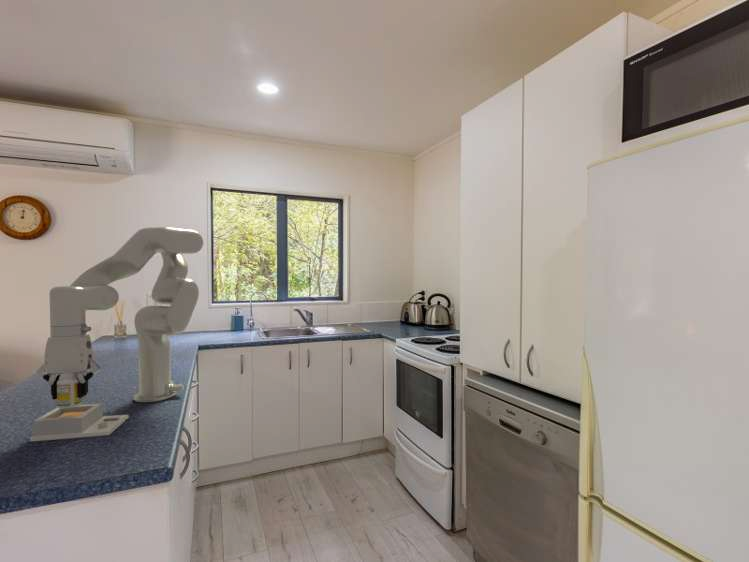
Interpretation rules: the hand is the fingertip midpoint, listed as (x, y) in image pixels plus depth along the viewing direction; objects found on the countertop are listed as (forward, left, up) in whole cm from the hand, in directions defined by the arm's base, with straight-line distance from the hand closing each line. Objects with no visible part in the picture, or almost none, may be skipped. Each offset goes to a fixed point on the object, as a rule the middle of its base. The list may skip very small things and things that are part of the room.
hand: (69, 396), depth 103 cm
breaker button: (0, 0, -7) cm, 7 cm away
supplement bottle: (0, 0, -3) cm, 3 cm away
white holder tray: (-3, 0, -9) cm, 10 cm away
